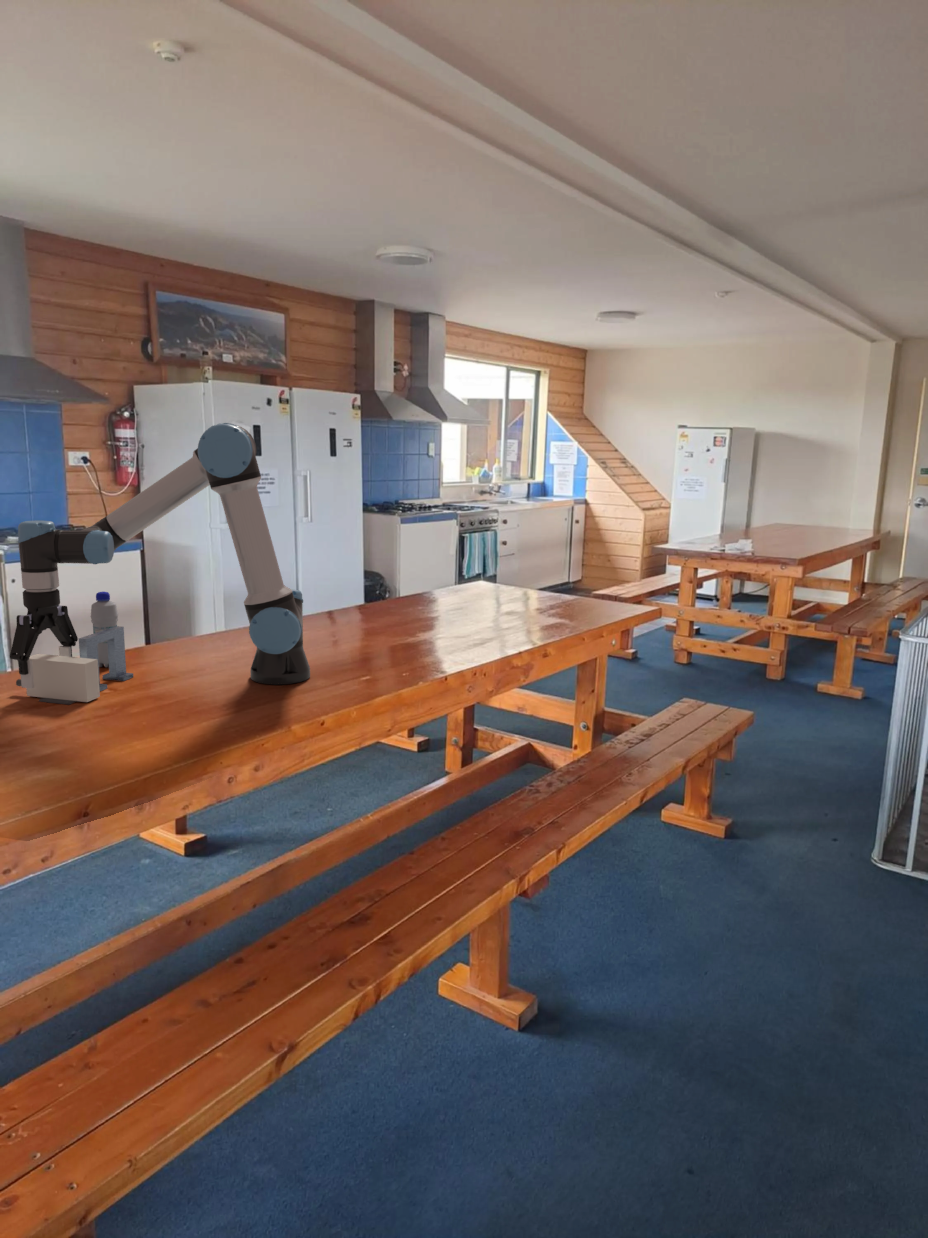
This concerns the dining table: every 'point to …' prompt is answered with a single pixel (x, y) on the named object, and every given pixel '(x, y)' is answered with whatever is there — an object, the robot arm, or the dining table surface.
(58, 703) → the mat
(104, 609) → the bottle
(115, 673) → the blue-grey arch stand
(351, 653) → the dining table surface
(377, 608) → the dining table surface
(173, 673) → the dining table surface
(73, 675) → the white block
